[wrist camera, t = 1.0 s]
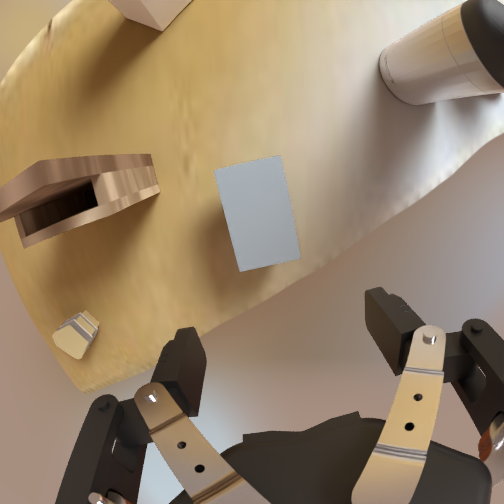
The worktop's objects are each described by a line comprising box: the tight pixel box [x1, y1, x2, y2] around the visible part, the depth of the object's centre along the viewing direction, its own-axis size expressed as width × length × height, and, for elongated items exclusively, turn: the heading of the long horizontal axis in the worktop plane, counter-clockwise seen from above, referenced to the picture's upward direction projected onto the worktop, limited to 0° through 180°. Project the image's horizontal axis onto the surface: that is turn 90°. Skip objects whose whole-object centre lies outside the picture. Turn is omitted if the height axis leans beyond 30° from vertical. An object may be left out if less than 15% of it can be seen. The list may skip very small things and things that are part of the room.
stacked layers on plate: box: [52, 310, 100, 359], centre depth 36 cm, size 10×9×6 cm
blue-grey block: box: [214, 156, 301, 272], centre depth 27 cm, size 6×10×10 cm, turn 13°
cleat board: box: [0, 154, 160, 249], centre depth 22 cm, size 12×5×20 cm, turn 103°
